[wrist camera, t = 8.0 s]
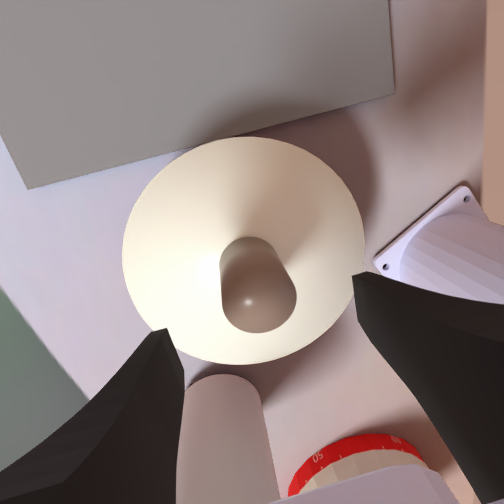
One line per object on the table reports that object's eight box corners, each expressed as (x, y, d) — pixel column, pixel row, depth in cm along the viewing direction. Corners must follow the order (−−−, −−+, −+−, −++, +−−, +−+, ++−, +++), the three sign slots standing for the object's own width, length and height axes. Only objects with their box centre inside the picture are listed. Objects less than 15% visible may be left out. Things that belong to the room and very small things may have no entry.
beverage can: (163, 394, 25) (128, 600, 14) (233, 353, 25) (253, 533, 14) (208, 441, 28) (209, 651, 16) (273, 404, 27) (319, 595, 16)
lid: (400, 257, 19) (457, 295, 15) (242, 390, 21) (252, 458, 17) (253, 75, 15) (272, 51, 11) (72, 261, 17) (24, 307, 13)
